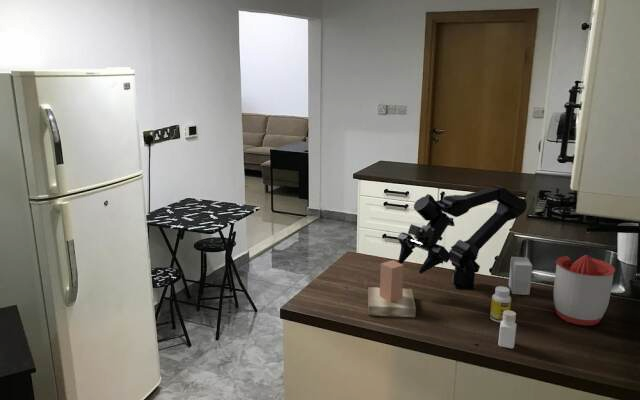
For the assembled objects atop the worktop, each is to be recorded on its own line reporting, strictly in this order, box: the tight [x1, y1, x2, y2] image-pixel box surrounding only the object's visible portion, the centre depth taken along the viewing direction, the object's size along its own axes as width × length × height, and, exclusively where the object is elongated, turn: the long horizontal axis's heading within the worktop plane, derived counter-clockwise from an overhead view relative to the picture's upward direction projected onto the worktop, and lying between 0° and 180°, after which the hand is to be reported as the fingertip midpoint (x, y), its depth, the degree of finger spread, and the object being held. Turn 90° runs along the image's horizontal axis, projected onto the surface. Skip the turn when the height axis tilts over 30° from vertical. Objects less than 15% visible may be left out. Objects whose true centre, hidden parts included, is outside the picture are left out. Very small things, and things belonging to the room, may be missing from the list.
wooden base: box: [367, 286, 417, 318], centre depth 162 cm, size 14×14×3 cm
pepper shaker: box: [497, 309, 517, 350], centre depth 139 cm, size 4×4×10 cm
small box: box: [508, 256, 533, 296], centre depth 174 cm, size 8×6×10 cm
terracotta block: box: [379, 259, 405, 302], centre depth 160 cm, size 5×5×11 cm
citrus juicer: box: [552, 254, 616, 326], centre depth 154 cm, size 16×17×20 cm
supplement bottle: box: [489, 285, 512, 324], centre depth 153 cm, size 5×5×10 cm
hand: (409, 268), depth 164 cm, fingers open, 9 cm apart
